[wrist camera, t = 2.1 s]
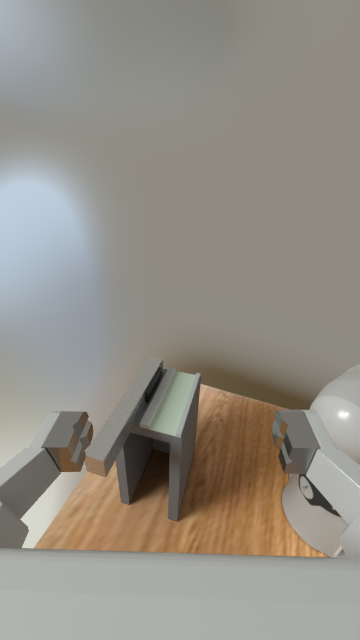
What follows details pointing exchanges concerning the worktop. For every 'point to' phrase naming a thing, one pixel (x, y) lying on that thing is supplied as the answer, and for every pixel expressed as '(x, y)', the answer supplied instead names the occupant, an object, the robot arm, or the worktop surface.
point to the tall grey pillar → (163, 436)
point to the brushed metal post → (123, 419)
